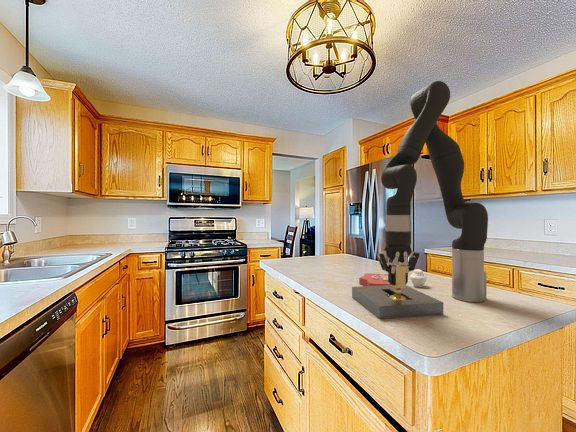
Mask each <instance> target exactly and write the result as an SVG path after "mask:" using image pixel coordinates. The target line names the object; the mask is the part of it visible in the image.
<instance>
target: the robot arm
mask: <svg viewBox="0 0 576 432" xmlns="http://www.w3.org/2000/svg"><path fill="white" fill-rule="evenodd" d="M450 100H451V90H450V88H449V86H448V84H447V83H446V82H444V81H443V80H436V81H432V82H431V83H428V84H427V85H425V86H424V87H422V88H421V89H419V90H418V91H416V92H415V93H414V94H413V95H411V97H410V102H409V106H410V110H411V113H412V115H413V117H414V122H413V123H412V124H411V125H410V127H409V128H408V129H407V131H406V132H405V133H404V135H403V137H402V139H401V141H400V143H399V145H398V148H397V150H396V153H394V155H393V156H392V157H391V159H390V160H389V161H388V162H387V164H386V166H385V167H384V168H383V170H382V172H381V178H380V179H381V180H380V182H381V185H382V186H383V187H384V188H386V189H388V190H395V189H396V192H395V194H394V195H392V196H389V197H388V198H387V199H386V205H385V206H386V207H385V208H386V210H385V211H386V213H385V222H384V224H385V227H384V228H385V230H384V231H385V237H384V240H385V248H384V250H383V251H381V252H377V253H376V258H377V260H378V262H379V265H380V267H381V269H382V271H385V272H386V273H387V274H388V282H389V283H390V284H391V285H395V274H394V273H395V267H396V266H397V265H403V266H406V285H407V284H408V282H409V276H408V275H409V273H410V272H412V271H414V270H415V269H416V266H417V263H418V260H419V258H420V255H421V254H420V252H417V251H413V250H412V247H411V245H412V218H411V216H412V215H411V214H412V213H411V212H412V211H411V202H412V199H413V195H414V191H415V189H416V185H417V182H418V180H417V179H418V174H417V170H416V169H415V167H414V166H413V165H415V164H416V163H417V162H418V160H419V159H420V157H421V155H422V151H423V149H424V146H426V149H427V151H428V155H429V160H430V161H431V162H430V163H431V165H432V168H433V171H434V173H435V176H436V179H437V183H438V187H439V189H440V192H441V196H442V201H443V207H444V211H445V217H446V219H447V222H448V223H449V225H450V226H451V227H453V228H455V229H459V230H461V234H460V236H458V237H457V238H455V239H453V240H452V242H451V296H452V298H453V299H456V300H459V301H463V302H469V303H482V302H484V301H487V287H488V286H487V272H486V271H485V246H486V242H487V240H488V226H489V213H488V211H487V208H486V207H485V205H483V204H482V203H480V202H466V201H465V198H464V196H463V193H462V181H463V178H464V177H463V176H464V173H465V172H464V171H465V160H464V157H463V154H462V151H461V148H460V146H459V143H457V142H456V140H454V139H453V138H452V137H451V136H450V135H448V134H447V133H446V132H445V131H443V130H442V129H441V128H440V127H439V125H438V123H437V122H438V121H439V118H440V117H441V115H442V113H443V112H444V111H445V109H446V107H447V106H448V104H449V102H450ZM386 258H388V259H387V260H386Z"/></svg>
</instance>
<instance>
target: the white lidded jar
mask: <svg viewBox="0 0 576 432" xmlns="http://www.w3.org/2000/svg"><path fill="white" fill-rule="evenodd" d="M409 278H410V281H411V283H412V284H413V286H414V287H415V288H416V287H417V288H423V287H424V285H425V284H426V282H427V280H428V278H427V276H426V275H425V273H424V271H423V270H422V269H419V268H418V269H417V268H415V269H414V270H413V272H412V274H410V276H409Z"/></svg>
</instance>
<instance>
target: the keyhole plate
mask: <svg viewBox="0 0 576 432" xmlns="http://www.w3.org/2000/svg"><path fill="white" fill-rule="evenodd" d="M390 295H394V287H392V286H390V285H382V286H363V285H361V286H351V297H352V298H353V299H354V300H355V301H357V302H358V304H361V306H363V308H365V309H366V310H368V311H369V312H370V313H371V314H372V315H374V316H376V318H378V319H379V320H384V319H397V318H398V319H401V318H413V317H429V316H442V315H444V301H441V300H439V299H437V298H436V297H435V298H434V297H432V296H430V295H428V294H427V293H426V294H425V293H424V292H421V291H419V290H417V289H415V288H413V287H410V286H409V285H406V288H401V296H404V297H406V298H407V300H393V299H391V298H390V297H389V296H390Z"/></svg>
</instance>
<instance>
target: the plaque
mask: <svg viewBox="0 0 576 432" xmlns="http://www.w3.org/2000/svg"><path fill="white" fill-rule="evenodd" d="M363 275H364V276H360V277H358V281H359V282H358V284H359V285H360V286H382V285H390V283H389V282H388V273H372V272H371V273H368V272H367V273H364V274H363Z"/></svg>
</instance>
